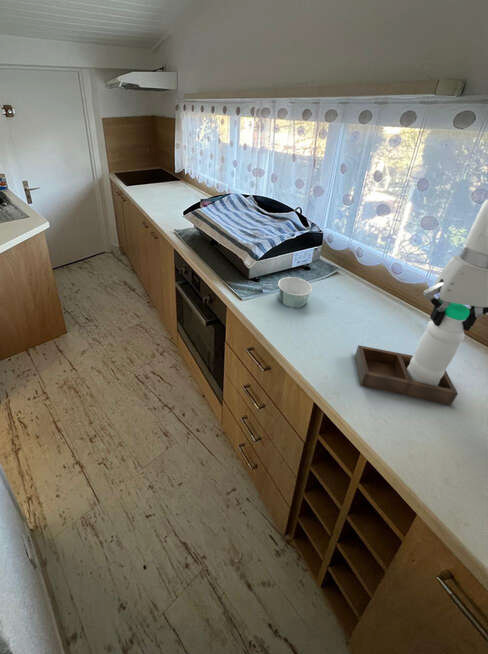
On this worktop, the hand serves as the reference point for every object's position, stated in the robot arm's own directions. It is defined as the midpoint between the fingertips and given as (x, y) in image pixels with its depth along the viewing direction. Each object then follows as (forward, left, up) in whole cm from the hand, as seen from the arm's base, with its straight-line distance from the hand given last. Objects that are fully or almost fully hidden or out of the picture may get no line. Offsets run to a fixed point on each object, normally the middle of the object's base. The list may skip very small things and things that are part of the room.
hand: (449, 323), depth 72 cm
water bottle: (0, 0, -20) cm, 20 cm away
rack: (+5, 0, -21) cm, 21 cm away
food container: (+33, -29, -21) cm, 48 cm away
